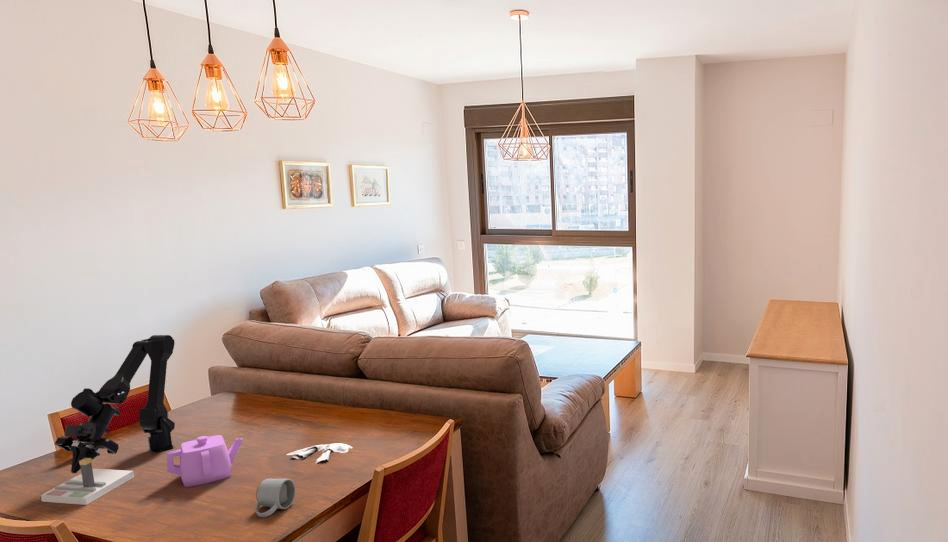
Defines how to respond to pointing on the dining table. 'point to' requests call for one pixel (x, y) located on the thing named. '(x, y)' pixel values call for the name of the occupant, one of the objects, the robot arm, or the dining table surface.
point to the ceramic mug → (274, 495)
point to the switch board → (82, 495)
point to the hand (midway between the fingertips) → (73, 472)
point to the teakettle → (203, 460)
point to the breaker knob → (87, 472)
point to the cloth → (325, 456)
